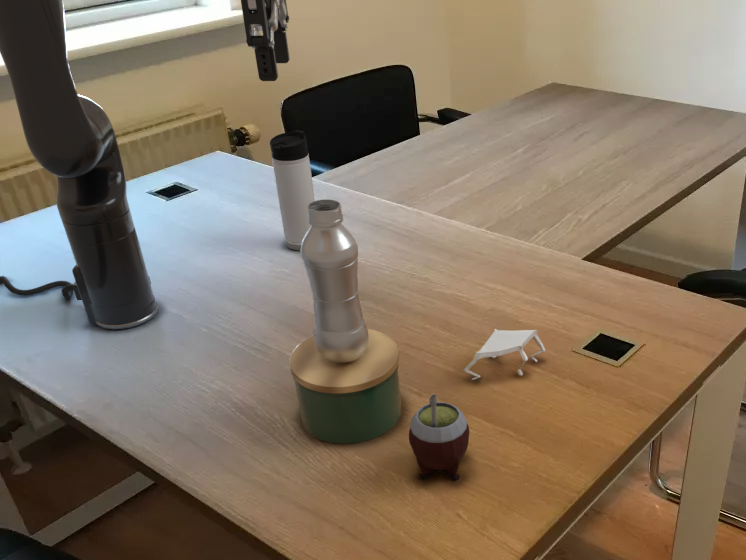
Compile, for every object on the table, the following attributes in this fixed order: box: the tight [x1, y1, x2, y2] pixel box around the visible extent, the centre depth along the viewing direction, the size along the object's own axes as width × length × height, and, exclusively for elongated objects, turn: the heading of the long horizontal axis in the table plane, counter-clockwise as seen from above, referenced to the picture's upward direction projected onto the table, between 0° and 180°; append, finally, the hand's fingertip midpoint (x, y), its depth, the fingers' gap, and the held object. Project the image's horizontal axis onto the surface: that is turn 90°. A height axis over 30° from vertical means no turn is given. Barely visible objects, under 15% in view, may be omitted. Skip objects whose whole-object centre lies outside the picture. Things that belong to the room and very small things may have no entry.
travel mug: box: [269, 129, 316, 251], centre depth 143 cm, size 6×7×20 cm
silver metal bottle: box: [299, 198, 369, 363], centre depth 96 cm, size 6×7×20 cm
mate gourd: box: [408, 393, 470, 482], centre depth 93 cm, size 8×8×15 cm
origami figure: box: [462, 328, 546, 381], centre depth 113 cm, size 12×8×5 cm
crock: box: [288, 328, 402, 445], centre depth 104 cm, size 14×14×9 cm
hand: (275, 71), depth 102 cm, fingers open, 8 cm apart
